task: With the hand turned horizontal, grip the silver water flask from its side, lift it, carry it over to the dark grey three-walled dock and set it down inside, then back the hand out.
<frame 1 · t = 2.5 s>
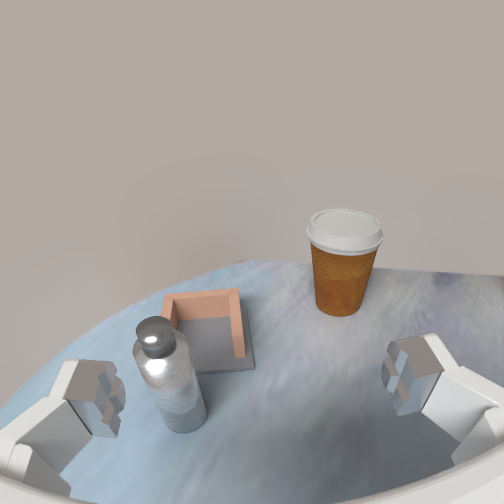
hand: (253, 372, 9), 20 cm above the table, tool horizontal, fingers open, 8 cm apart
dock: (204, 339, 39), on the table
silver water flask: (184, 414, 29), on the table
disposable coffee cup: (338, 303, 44), on the table
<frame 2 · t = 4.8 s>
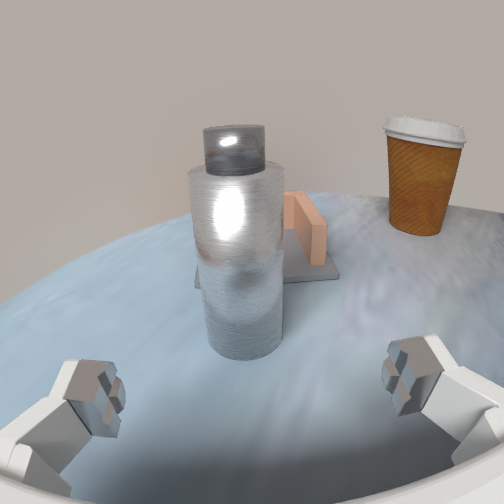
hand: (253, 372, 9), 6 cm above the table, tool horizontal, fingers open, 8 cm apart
dock: (261, 250, 29), on the table
silver water flask: (244, 334, 20), on the table
disposable coffee cup: (414, 226, 34), on the table
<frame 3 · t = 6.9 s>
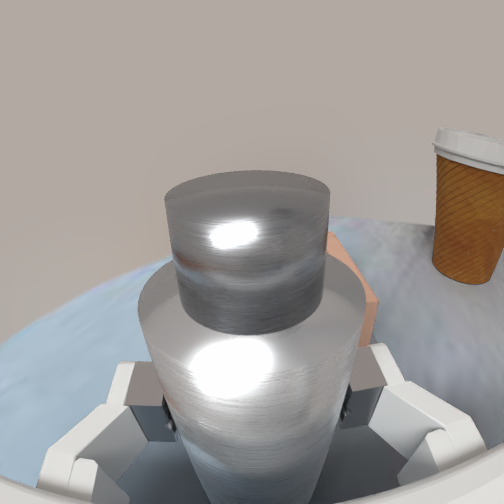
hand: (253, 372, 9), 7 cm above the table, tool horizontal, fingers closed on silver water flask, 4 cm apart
dock: (277, 321, 21), on the table
silver water flask: (260, 483, 11), on the table, touching gripper
disposable coffee cup: (461, 268, 26), on the table
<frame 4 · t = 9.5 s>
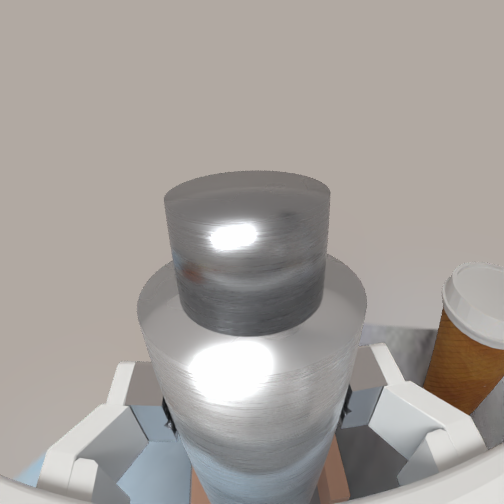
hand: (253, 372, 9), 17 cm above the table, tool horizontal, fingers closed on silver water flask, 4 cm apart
dock: (266, 475, 20), on the table
silver water flask: (260, 483, 11), point 10 cm above the table, touching gripper
disposable coffee cup: (450, 395, 24), on the table
when the fingers open (8 cm above the table, at t = 11.9 s): silver water flask drops 1 cm, resting on dock.
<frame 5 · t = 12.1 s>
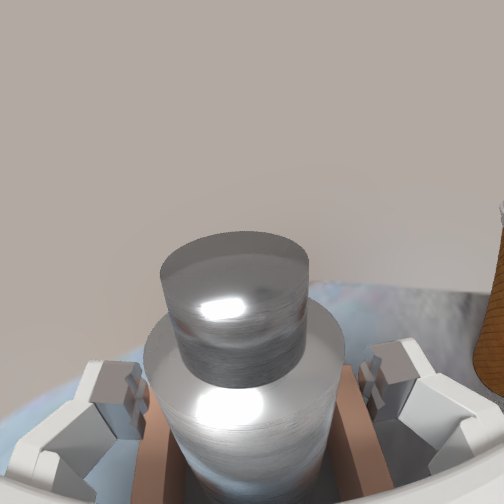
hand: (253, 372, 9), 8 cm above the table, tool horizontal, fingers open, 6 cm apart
dock: (261, 496, 12), on the table
silver water flask: (261, 492, 12), point 1 cm above the table, touching dock
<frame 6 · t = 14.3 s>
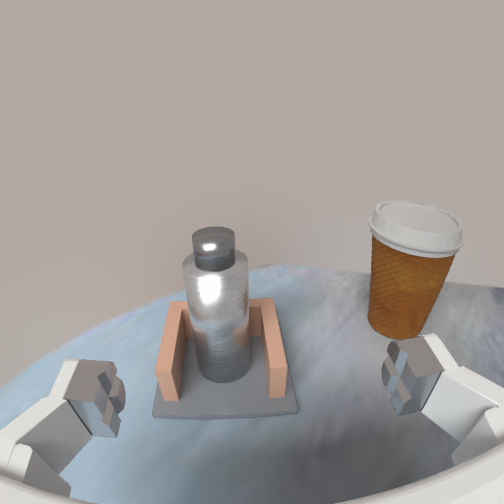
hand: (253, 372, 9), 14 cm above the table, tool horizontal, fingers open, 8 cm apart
dock: (223, 367, 27), on the table
silver water flask: (224, 363, 27), point 1 cm above the table, touching dock
disposable coffee cup: (395, 322, 32), on the table
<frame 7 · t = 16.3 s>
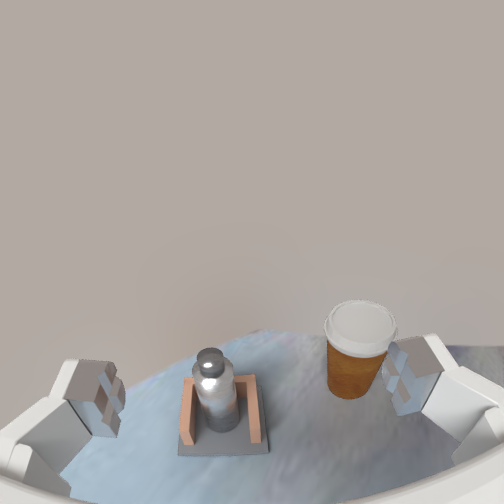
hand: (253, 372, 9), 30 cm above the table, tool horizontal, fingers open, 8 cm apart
dock: (222, 421, 38), on the table
silver water flask: (222, 418, 38), point 1 cm above the table, touching dock
disposable coffee cup: (348, 383, 43), on the table
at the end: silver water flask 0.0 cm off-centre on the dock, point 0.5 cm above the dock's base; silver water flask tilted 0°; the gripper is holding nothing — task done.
